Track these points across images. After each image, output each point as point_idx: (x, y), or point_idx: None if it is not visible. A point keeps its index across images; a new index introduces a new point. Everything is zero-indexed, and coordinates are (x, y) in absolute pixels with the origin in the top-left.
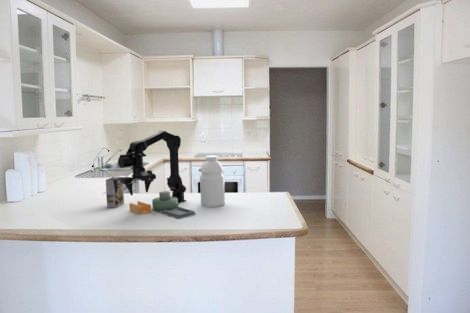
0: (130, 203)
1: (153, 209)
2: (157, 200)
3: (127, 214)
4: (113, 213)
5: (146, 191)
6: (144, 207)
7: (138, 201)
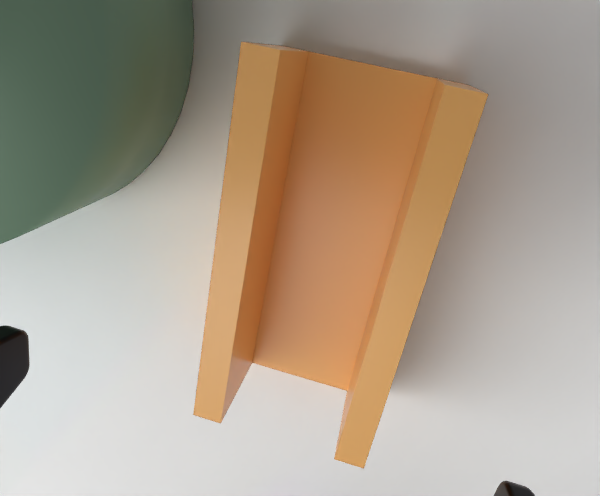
0: (368, 442)
1: (179, 101)
2: (9, 78)
3: (559, 284)
4: (588, 479)
5: (8, 365)
6: (271, 207)
7: (209, 409)
